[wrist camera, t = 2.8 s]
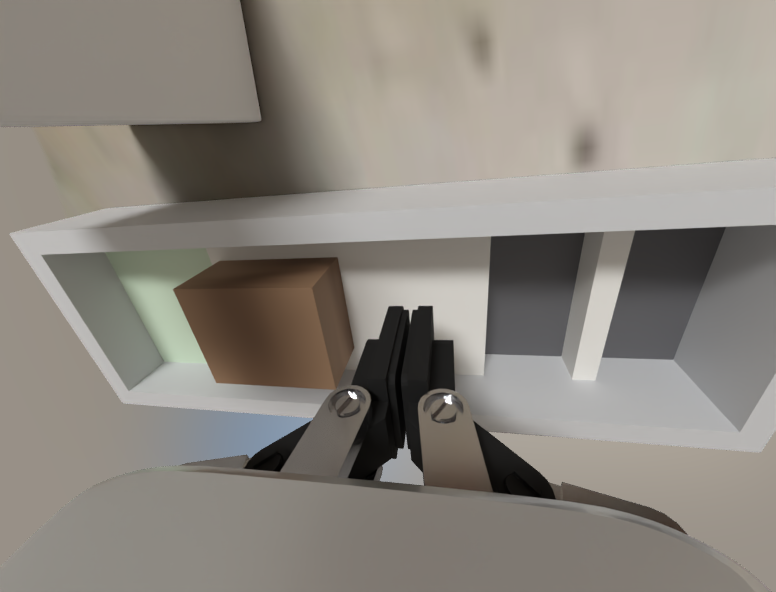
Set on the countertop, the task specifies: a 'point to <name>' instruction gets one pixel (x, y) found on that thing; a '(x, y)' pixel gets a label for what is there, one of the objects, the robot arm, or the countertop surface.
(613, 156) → the countertop surface
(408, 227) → the box
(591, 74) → the countertop surface
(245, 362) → the block
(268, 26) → the countertop surface
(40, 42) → the milk carton
